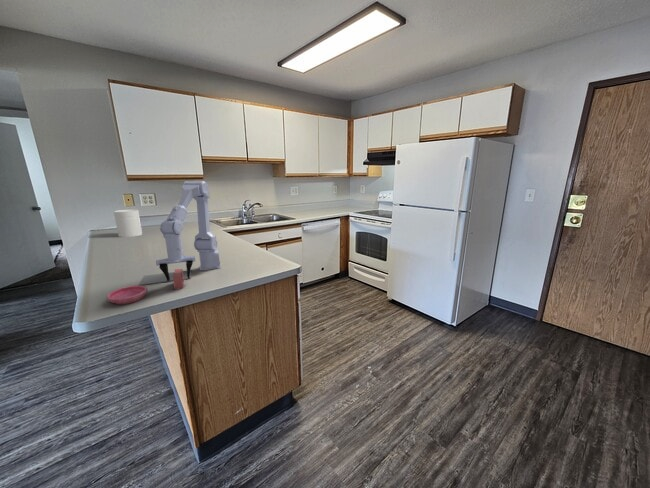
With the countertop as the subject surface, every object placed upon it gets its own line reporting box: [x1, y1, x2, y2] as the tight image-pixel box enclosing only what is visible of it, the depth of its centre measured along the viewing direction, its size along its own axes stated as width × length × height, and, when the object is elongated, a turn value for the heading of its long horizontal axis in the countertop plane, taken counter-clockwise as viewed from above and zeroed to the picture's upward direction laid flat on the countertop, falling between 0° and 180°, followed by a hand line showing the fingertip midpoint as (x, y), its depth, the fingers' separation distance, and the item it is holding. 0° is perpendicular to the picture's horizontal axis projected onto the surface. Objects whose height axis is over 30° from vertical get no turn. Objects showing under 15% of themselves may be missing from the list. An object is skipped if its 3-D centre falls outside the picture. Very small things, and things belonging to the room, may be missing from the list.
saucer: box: [106, 284, 148, 305], centre depth 102 cm, size 12×12×3 cm
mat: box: [138, 270, 192, 286], centre depth 123 cm, size 20×12×1 cm, turn 114°
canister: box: [113, 209, 143, 238], centre depth 213 cm, size 16×16×20 cm
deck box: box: [173, 268, 185, 290], centre depth 114 cm, size 3×9×6 cm, turn 25°
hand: (178, 278), depth 114 cm, fingers open, 7 cm apart
